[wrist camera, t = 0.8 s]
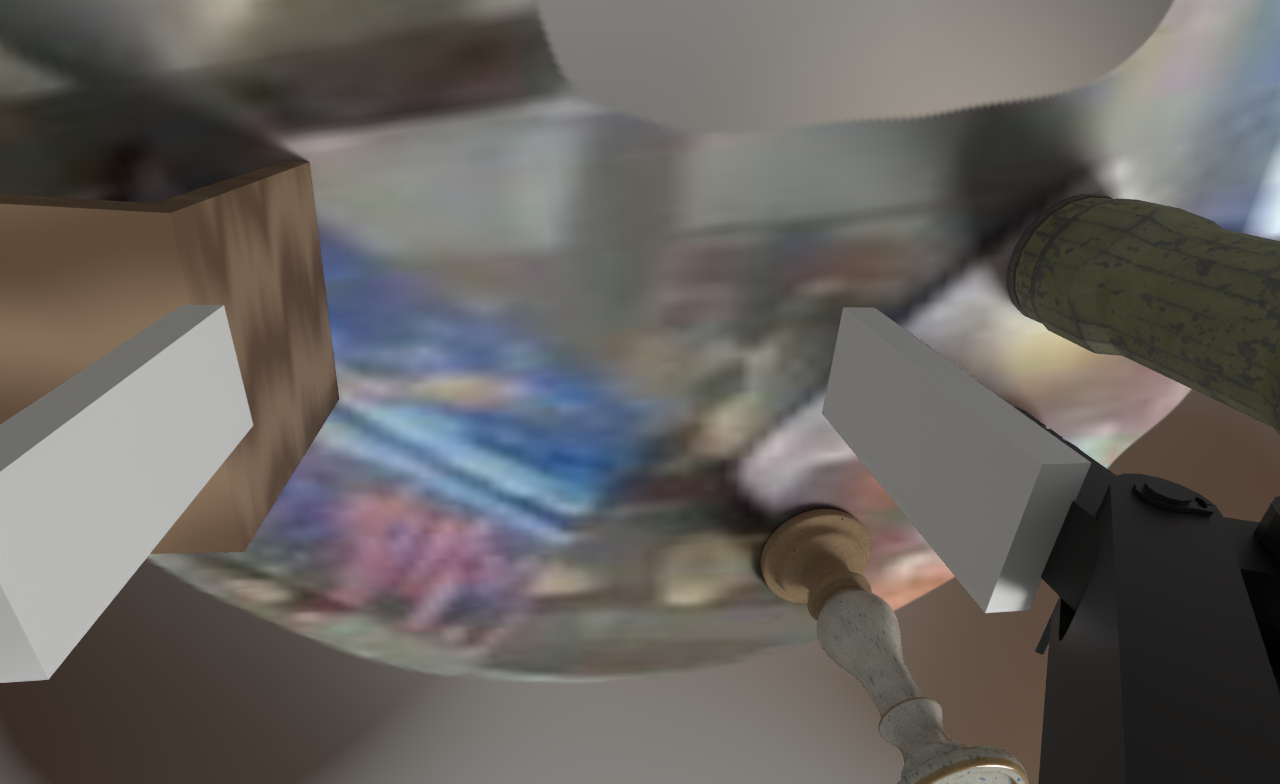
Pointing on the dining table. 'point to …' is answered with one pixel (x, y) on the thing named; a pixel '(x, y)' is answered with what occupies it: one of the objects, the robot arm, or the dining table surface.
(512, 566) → the dining table surface
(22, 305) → the wooden cubby
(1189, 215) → the thermos
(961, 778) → the candle holder
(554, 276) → the dining table surface
